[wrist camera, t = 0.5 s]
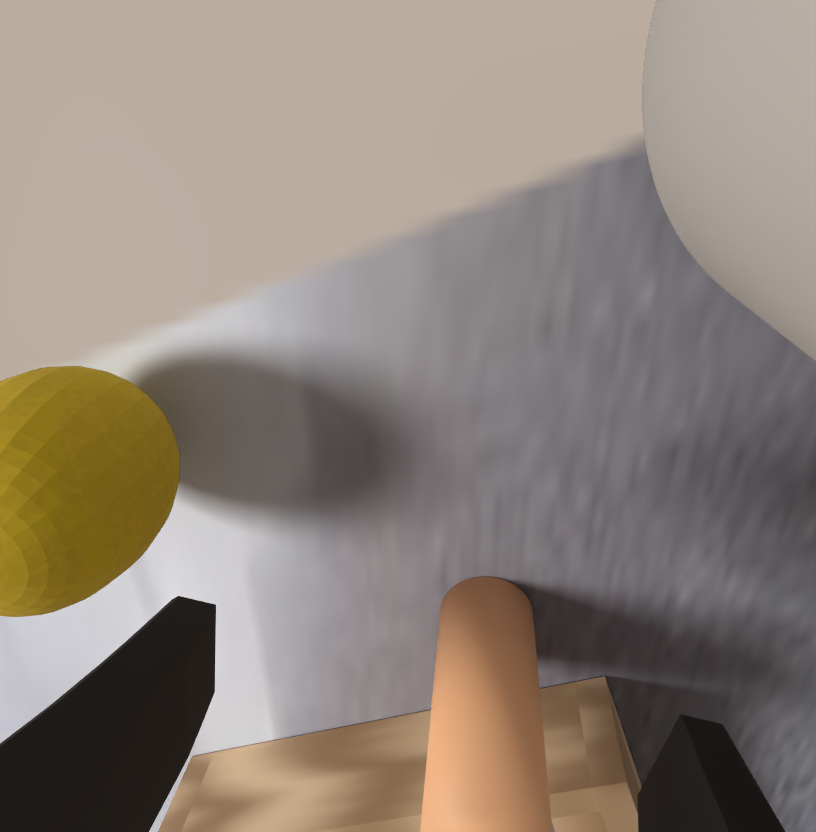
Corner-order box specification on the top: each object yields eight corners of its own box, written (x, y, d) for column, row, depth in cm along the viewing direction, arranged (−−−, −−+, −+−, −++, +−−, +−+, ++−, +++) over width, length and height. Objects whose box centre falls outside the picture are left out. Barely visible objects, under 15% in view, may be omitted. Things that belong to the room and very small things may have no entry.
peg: (457, 658, 24) (444, 904, 16) (427, 588, 23) (399, 818, 15) (543, 639, 23) (570, 888, 16) (517, 567, 22) (532, 798, 15)
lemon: (242, 484, 22) (119, 676, 14) (82, 505, 23) (-108, 695, 15) (185, 313, 20) (8, 438, 12) (12, 344, 20) (-248, 477, 13)
